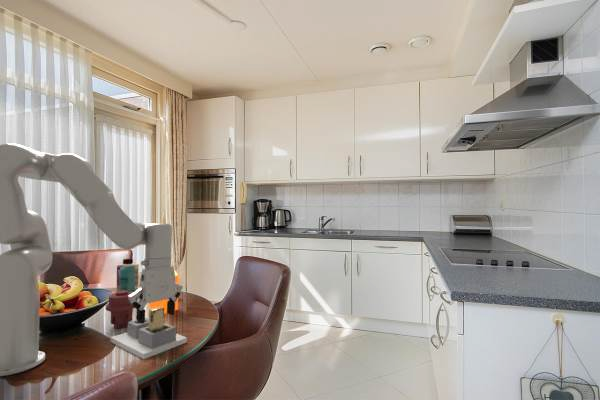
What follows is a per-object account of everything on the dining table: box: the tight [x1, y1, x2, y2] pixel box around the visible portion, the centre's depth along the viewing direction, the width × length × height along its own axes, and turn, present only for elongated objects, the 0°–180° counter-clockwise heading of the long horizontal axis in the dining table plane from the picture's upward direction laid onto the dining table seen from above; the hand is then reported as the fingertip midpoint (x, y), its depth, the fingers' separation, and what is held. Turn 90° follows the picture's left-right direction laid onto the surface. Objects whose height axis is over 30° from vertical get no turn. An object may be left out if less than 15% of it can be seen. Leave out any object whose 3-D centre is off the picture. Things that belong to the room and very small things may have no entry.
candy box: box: [115, 263, 139, 293], centre depth 155 cm, size 9×4×15 cm, turn 91°
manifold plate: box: [110, 317, 188, 360], centre depth 100 cm, size 14×20×6 cm
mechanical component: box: [105, 290, 138, 330], centre depth 115 cm, size 12×10×10 cm
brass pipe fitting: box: [148, 307, 165, 333], centre depth 97 cm, size 4×4×10 cm
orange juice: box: [148, 264, 179, 315], centre depth 133 cm, size 8×9×20 cm
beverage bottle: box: [119, 258, 135, 292], centre depth 143 cm, size 6×7×20 cm
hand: (156, 318), depth 98 cm, fingers open, 9 cm apart
